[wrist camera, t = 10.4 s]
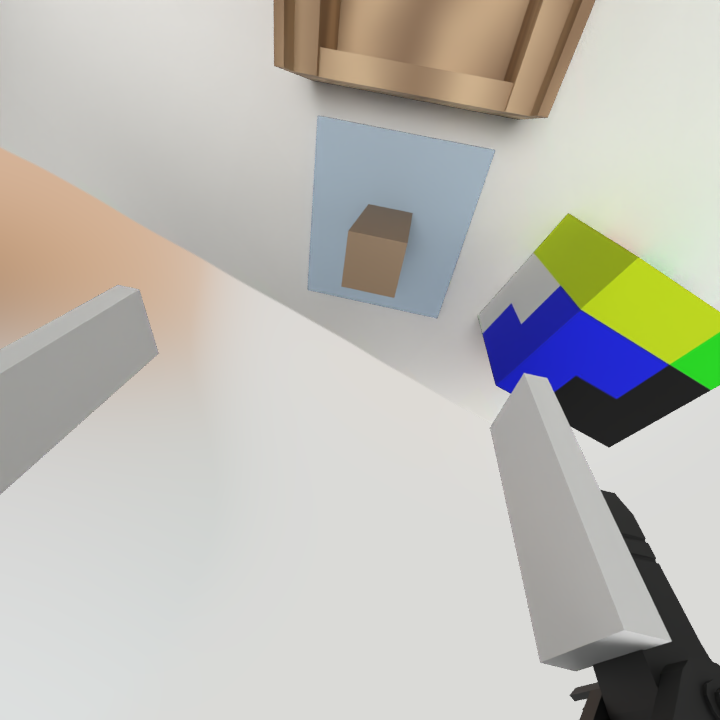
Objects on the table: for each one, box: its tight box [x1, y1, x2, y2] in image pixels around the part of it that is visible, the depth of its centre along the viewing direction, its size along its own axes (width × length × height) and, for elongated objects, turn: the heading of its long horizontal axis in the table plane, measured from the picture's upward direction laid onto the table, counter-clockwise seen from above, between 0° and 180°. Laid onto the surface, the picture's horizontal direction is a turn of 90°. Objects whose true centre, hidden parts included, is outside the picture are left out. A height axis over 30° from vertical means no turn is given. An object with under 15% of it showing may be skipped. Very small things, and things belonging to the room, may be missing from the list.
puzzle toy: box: [478, 213, 720, 447], centre depth 23 cm, size 10×10×10 cm
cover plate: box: [308, 116, 495, 318], centre depth 23 cm, size 12×13×9 cm
